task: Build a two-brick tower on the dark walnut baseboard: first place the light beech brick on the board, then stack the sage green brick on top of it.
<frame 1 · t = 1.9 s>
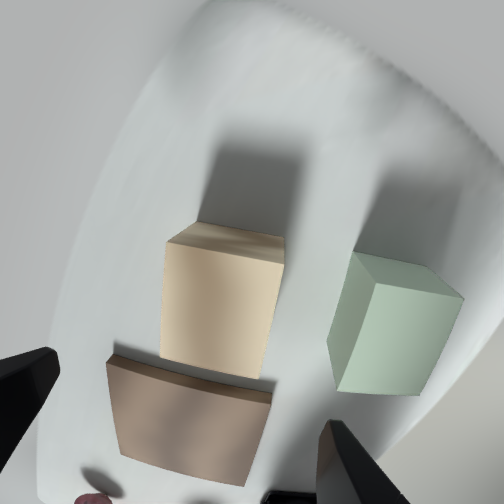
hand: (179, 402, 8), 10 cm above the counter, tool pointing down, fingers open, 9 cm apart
sage green brick: (376, 304, 18), on the counter
vegetable: (106, 493, 29), on the counter
walnut baseboard: (184, 427, 22), on the counter
beech brick: (231, 278, 18), on the counter
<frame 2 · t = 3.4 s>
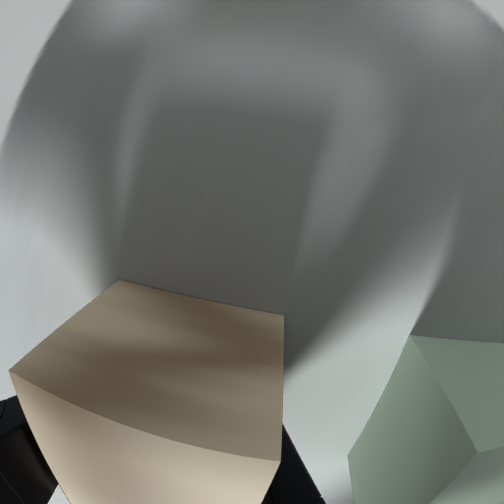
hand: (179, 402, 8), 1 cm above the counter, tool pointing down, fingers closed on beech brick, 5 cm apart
sage green brick: (431, 405, 9), on the counter
beech brick: (189, 377, 10), on the counter, touching gripper
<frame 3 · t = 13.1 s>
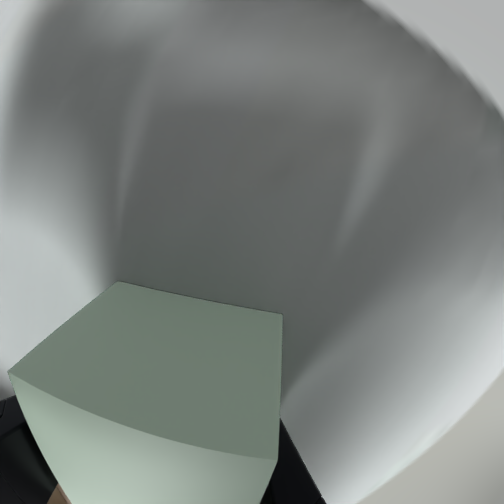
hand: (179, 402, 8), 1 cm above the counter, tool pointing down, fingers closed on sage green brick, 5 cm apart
sage green brick: (189, 378, 10), on the counter, touching gripper
when the fingers open (8 cm above the counter, at t = 17.9 s): sage green brick stays where it is, resting on beech brick.
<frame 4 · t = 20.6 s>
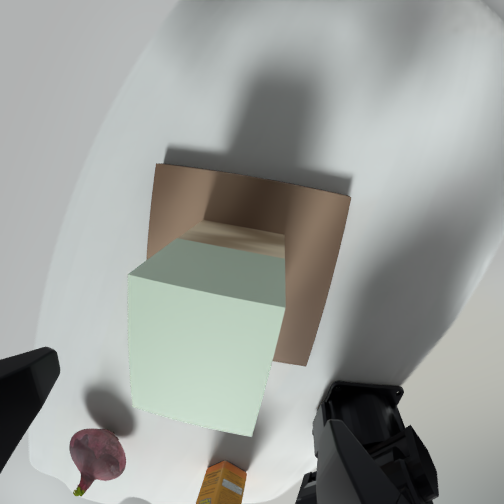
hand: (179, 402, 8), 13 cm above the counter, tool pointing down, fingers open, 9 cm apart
sage green brick: (220, 307, 15), point 6 cm above the counter, touching beech brick
supplement box: (225, 468, 27), on the counter
vegetable: (112, 430, 28), on the counter
walnut baseboard: (237, 267, 21), on the counter
beech brick: (235, 273, 20), point 1 cm above the counter, touching sage green brick, walnut baseboard
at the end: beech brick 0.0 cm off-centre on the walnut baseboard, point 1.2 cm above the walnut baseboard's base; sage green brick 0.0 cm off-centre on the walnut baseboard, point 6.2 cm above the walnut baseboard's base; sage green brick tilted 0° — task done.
